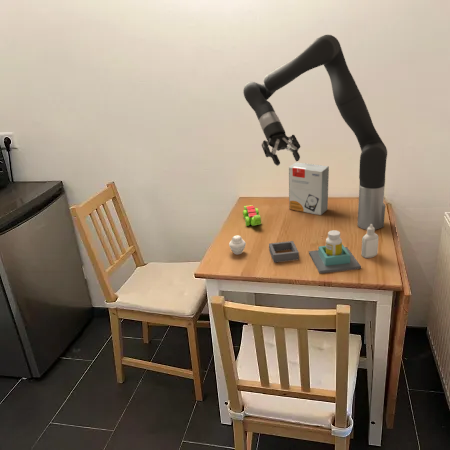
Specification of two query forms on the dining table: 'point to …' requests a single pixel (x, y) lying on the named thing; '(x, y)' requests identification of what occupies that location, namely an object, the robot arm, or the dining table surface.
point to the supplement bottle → (333, 243)
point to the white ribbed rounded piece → (237, 244)
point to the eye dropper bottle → (370, 243)
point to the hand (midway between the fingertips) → (288, 162)
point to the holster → (283, 256)
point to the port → (333, 260)
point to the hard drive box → (308, 188)
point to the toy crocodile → (251, 215)
